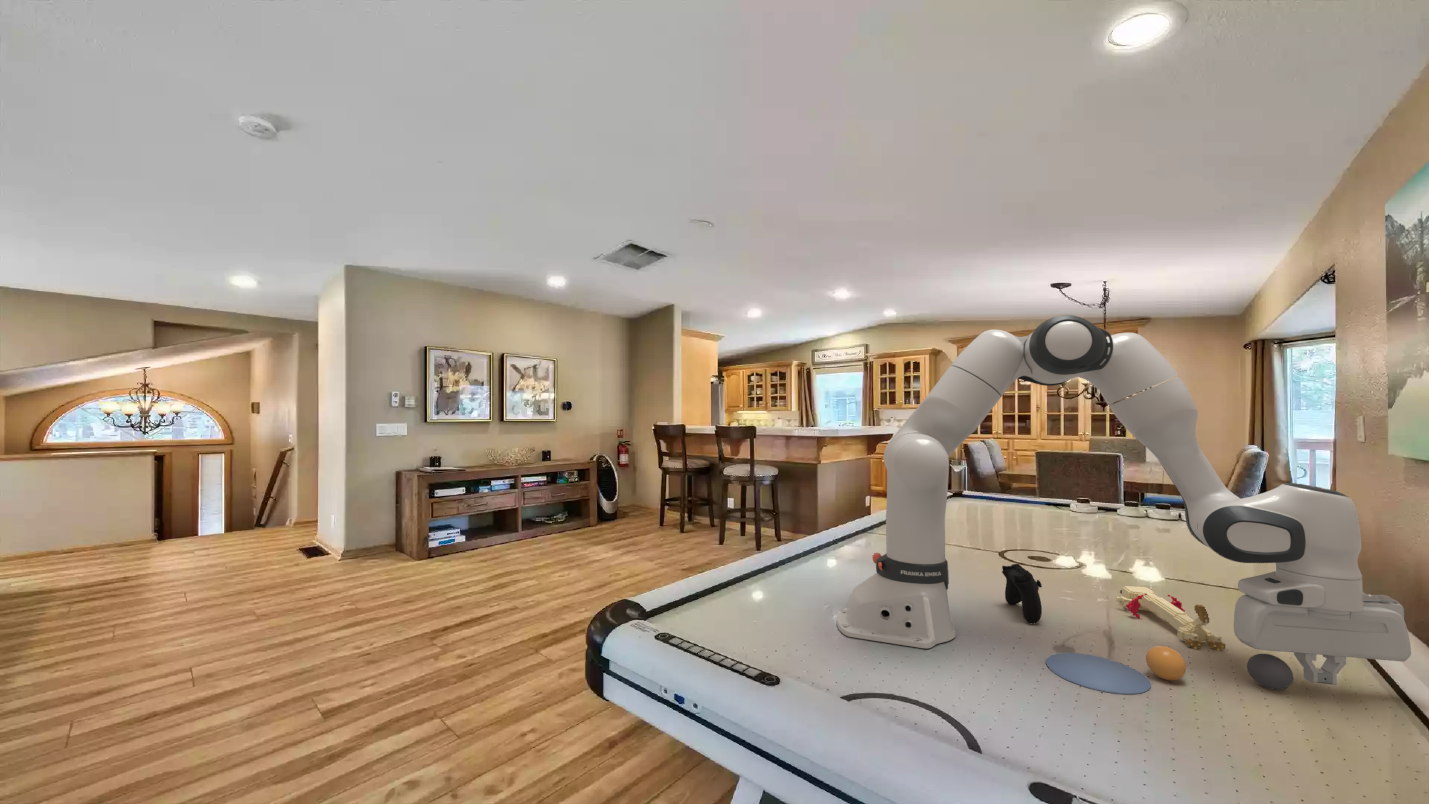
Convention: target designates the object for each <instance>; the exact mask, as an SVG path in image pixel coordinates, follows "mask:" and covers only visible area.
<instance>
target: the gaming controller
mask: <svg viewBox="0 0 1429 804" xmlns="http://www.w3.org/2000/svg"><path fill="white" fill-rule="evenodd" d="M1001 569H1002V571H1001V573H1002V574H1003V576H1004V577H1005V580H1006V581H1005V582H1006V583H1005V590H1004V599H1005V601H1006V603H1007V604H1008V605H1010V606H1015V605H1017V604H1020V603H1021V611H1022V616H1023V619H1024V620H1025V622H1027V623H1028V624H1030V623H1032V624H1031V625H1035V624H1037V623H1039V622H1040V620H1041V618H1042V613H1043V612H1042V611H1043V609H1042V608H1043V607H1042V601H1041V597H1040V593H1039V589H1041V588H1042V587H1043V586H1042V583H1041V581H1040V579H1037V580H1036V579H1034V576H1033V574H1032V573H1031V572H1030V571H1029V570H1027V569H1025V568H1024V567H1022V565H1020V563H1013V564H1011V565H1002V567H1001ZM1034 623H1035V624H1034Z"/></svg>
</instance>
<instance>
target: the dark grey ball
mask: <svg viewBox="0 0 1429 804" xmlns="http://www.w3.org/2000/svg"><path fill="white" fill-rule="evenodd" d="M1246 669H1247V672H1248V674H1249V676H1250V677H1251V678H1252V679H1253V681H1254V682H1255V683H1257V684H1258V685H1260V686H1262V687H1264V688H1267V689H1270V690H1278V691H1279V690H1285V689H1287V688H1289V687H1290V686H1291V685H1292V684H1293V681H1294V674H1293V671H1292V669H1291V667H1290V666H1289V665H1288V664H1287V662H1286V661H1284V660H1283V659H1281V658H1280V657H1278V656H1275V655H1273V654H1270V653H1257V654H1254V655H1252V656H1251V657H1250V658H1249V659H1248V660H1247V662H1246Z"/></svg>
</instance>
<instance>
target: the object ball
mask: <svg viewBox="0 0 1429 804" xmlns="http://www.w3.org/2000/svg"><path fill="white" fill-rule="evenodd" d="M1145 663H1146V665H1147V667H1148V669H1149V670H1150V671H1151V672H1152V673H1153V674H1154V675H1155V676H1156V677H1158V678H1160V679H1163V680H1166V681H1176V680H1177V681H1178V680H1179V679H1181V678H1183V677H1184V676H1185V675H1186V672H1187V664H1186V661H1185V659H1184V657H1183V656H1182V655H1181V654H1180V653H1179V652H1178V651H1177V650H1175V649H1173V648H1171V647H1169V646H1165V645H1156V646H1153V647H1150V648H1149V649H1148V650H1147V651H1146V655H1145Z"/></svg>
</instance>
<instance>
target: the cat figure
mask: <svg viewBox="0 0 1429 804" xmlns="http://www.w3.org/2000/svg"><path fill="white" fill-rule="evenodd" d="M1119 593H1120V594H1121V596H1116V598H1115V599H1116V600H1115V601H1116V603H1119V604H1122V607H1124V608H1125V609H1127V610H1128V611H1129V612H1130V613H1131V614H1132V616H1134V617H1135V618H1137V619H1138V620H1141V615H1140V614H1139V613H1138V612H1139V611H1146V612H1147V611H1149V612H1152V613H1153V614H1154V615H1156V616H1159V617H1160V618H1162V619H1163V620H1164V621H1166V622H1167V623H1169V624H1170V625H1171V627H1173V628H1174V629H1176V631H1177V637H1179V638H1180V639H1181V640H1182V641H1184V642H1185V643H1184V644H1185V645H1186V646H1187V647H1189V648H1190V649H1194V650H1199V648H1203V643H1204V642H1206V643H1207V645H1208V647H1209V648H1211V649H1213V650H1214V651H1219V652H1220V651H1221V652H1222V650H1226V643H1224V642H1223V637H1222V636H1221V635H1219V634H1214V633H1213V632H1212V631H1210V630H1208V629H1207V628H1204V627H1203V626H1206V625H1208V624H1209V623H1210V617H1209V613H1208V611H1207V609H1206V607H1205V606H1204V605H1202V604H1195V605H1194V611H1195V614H1197V617H1196V618H1191V616H1189V615H1188V614H1187V612H1186V610H1185V609H1184V608H1183V605H1182V602H1181V601H1180V600H1177V597H1174V596H1172V595H1171V594H1167V597H1170V598H1171V599H1172V601H1171V602H1170V601H1168V600H1166V599H1164V598H1163V597H1159V595H1157V593H1156V592H1155V591H1153V590H1151V589H1150V588H1148V587H1146V586H1135V585H1134V586H1131V585H1125V586H1123V587H1122V588H1121V590H1119Z"/></svg>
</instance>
